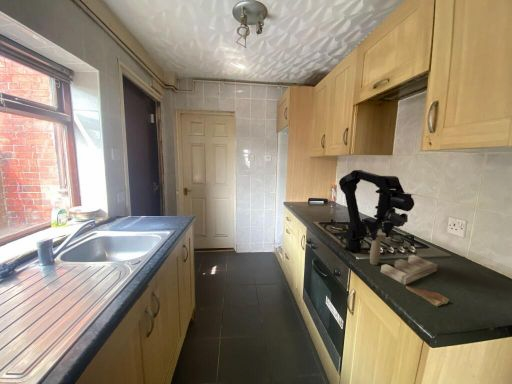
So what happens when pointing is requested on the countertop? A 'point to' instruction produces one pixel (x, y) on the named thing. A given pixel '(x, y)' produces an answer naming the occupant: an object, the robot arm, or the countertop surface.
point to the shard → (429, 296)
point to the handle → (376, 248)
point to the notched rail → (409, 269)
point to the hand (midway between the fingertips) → (380, 238)
